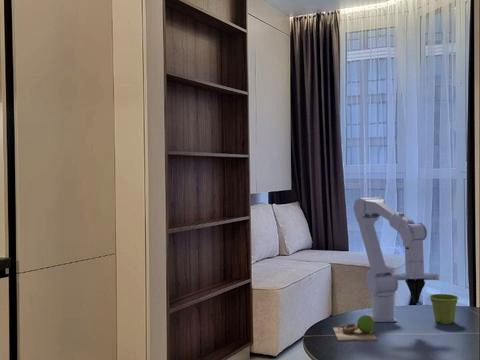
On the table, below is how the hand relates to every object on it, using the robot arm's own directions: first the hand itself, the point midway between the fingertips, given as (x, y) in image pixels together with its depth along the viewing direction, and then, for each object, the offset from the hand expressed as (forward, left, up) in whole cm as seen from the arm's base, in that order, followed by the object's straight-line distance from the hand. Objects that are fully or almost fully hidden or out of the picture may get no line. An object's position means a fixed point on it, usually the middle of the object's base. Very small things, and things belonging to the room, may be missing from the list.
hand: (415, 302), depth 167 cm
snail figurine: (+2, -14, -5) cm, 15 cm away
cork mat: (+2, -20, -9) cm, 23 cm away
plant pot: (-12, +13, -10) cm, 20 cm away
